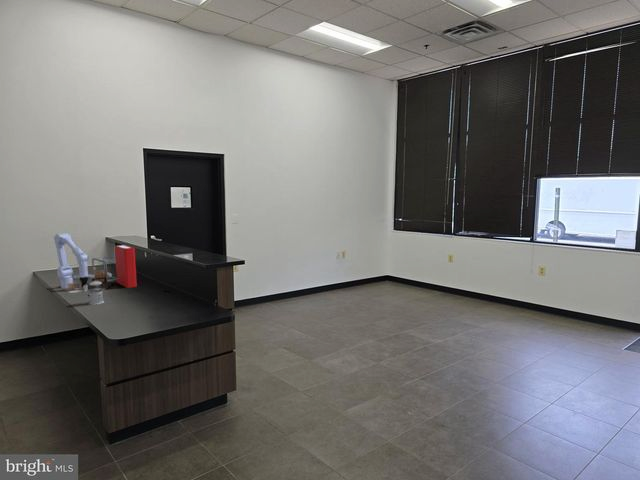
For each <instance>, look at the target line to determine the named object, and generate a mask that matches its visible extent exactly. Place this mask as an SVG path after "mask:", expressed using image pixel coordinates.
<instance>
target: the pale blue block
mask: <svg viewBox="0 0 640 480" xmlns="http://www.w3.org/2000/svg"><path fill="white" fill-rule="evenodd" d="M87 291H89V284H86V285H84V286H83V289H82V290H69V291H68V292H67V293H68V294H69V293H70V294H71V293H75V294H76V293H86V292H87Z"/></svg>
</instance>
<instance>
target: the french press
mask: <svg viewBox="0 0 640 480" xmlns="http://www.w3.org/2000/svg"><path fill="white" fill-rule="evenodd" d="M93 269H94V274H95V271H96V267H94V268H93V267H92V270H93ZM102 284H103V283H101V282H99V281H93V282H92V281H91V282H90V283H88V286H95V287H93V288H90V289H89V290H90V291H89V299H90V300H89V301H90V302H88V305H89V306H90V305H91V306H94V305H95V306H96V304H97V305H101V303H102V304H103V303H105V301H104V296H103V290H102V288H101V286H100V285H102Z"/></svg>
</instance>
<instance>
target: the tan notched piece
mask: <svg viewBox="0 0 640 480" xmlns="http://www.w3.org/2000/svg"><path fill="white" fill-rule="evenodd" d="M78 287H79V288H78ZM78 287H76V288H75V287H74V288H75V289H74V290H73V291H80V290H83V285H82V283H81V282H80V283H79V284H78ZM64 291H69V290H68V288H66V289H65V290H64Z"/></svg>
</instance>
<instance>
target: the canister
mask: <svg viewBox="0 0 640 480" xmlns="http://www.w3.org/2000/svg"><path fill="white" fill-rule="evenodd" d="M67 285H68V288H67V289H68V290H67V291H75V290H74V289H75V282H73V283H69V284H67Z"/></svg>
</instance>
